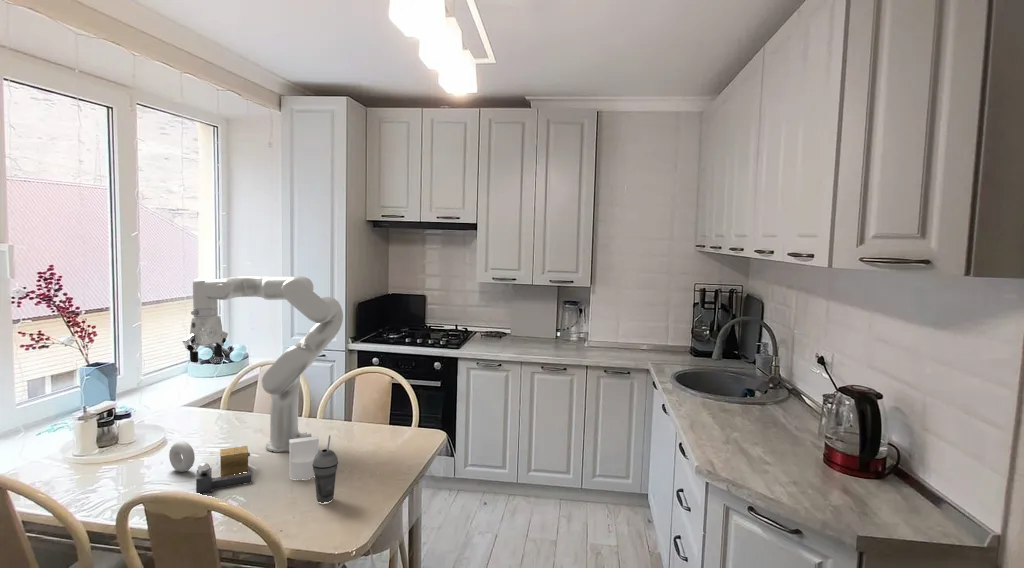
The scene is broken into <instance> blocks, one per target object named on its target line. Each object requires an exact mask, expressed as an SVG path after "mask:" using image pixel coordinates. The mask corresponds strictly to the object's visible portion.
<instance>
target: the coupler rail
mask: <svg viewBox="0 0 1024 568" xmlns="http://www.w3.org/2000/svg"><path fill="white" fill-rule="evenodd" d="M212 468H213V467H211V466H210V463H207V462H202V463H200V464H199V465H198V467H197V469H196V474H195V476H196V477H195V486H196V487H195V490H196V493H200V494H202V495H206V494H212V492H213V491H212V490H216V489H223V488H228V487H229V486H230V487H235V486H240V485H239V484H241V485H245V484H244V483H247V484H251V483H250V482H252V478H253V476H252V475H253V474H252V472H251V471H248V472H247V473H241V474H235V475H229V476H223V477H221V476H218V477H213V475H212V474H213V473H212V472H213V470H212ZM234 485H235V486H234ZM230 487H229V488H230Z"/></svg>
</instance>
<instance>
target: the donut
mask: <svg viewBox="0 0 1024 568" xmlns="http://www.w3.org/2000/svg"><path fill="white" fill-rule="evenodd" d="M168 454H169V455H168V456H169V457H168V458H169V461H170V464H171V466H172V468H173V469H174V470H176V471H177V472H181V473H183V472H187V471H189V470H190V469H192V467H193V466H194V463H195V460H196V458H195V451H194V449H193V447H192V445H191V444H189V442H187V441H184V440H183V441H182V440H180V441H179V440H178V441H177V442H175V443H173V445H172V446H171V447H170V449H169V453H168Z"/></svg>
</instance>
